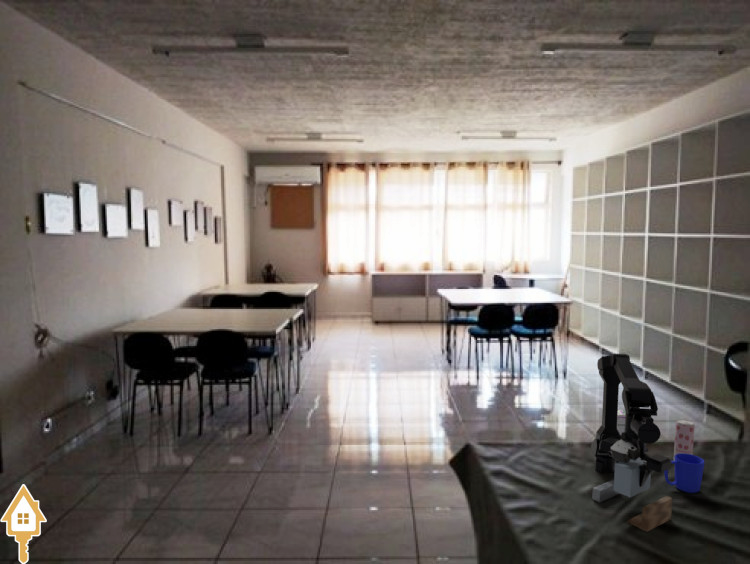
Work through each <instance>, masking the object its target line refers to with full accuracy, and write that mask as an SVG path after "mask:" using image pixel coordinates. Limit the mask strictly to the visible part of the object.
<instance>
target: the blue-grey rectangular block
mask: <svg viewBox="0 0 750 564" xmlns="http://www.w3.org/2000/svg"><path fill="white" fill-rule="evenodd" d="M642 464H643V460H640V459H636V460H635V461H634V460H632V459H631V460H630V461H629V462H628V463H623V462H622V461H620V462H618V463H617V462H615V471H614V472H613V473H614V477H613V480H614V491H616V492H618V493H620V494H621V495H623V496H626V497H628V498H629V499H630V498H632V497H634V496H636V495H639V494H642V493H644V492H645V491H648V490H650V489H651V476H652V472H651V473H650V475H649V477H648V478H647V480H646V482H645V483H644V485H643V486H642V487H640V484H639V481H640V471H641V470H640V468H639V466H640V465H642Z"/></svg>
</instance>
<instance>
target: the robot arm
mask: <svg viewBox="0 0 750 564" xmlns="http://www.w3.org/2000/svg"><path fill="white" fill-rule="evenodd" d="M596 366H597V370H598V374H599V376H600V378H601V380H602V382H603V387H602V388H603V395H602V413H601V414H602V415H601V426H600V427H599V428H598V429H597V430H596V434H595V438H594V439H593V441H592V443H591V445H590V450H591V453H592V455H593V456H594V457H595V465H594V467H595V469H594V471H595V472H598V473H600V474H606V473H607V474H612V473H615V463H618V462H620V461H622V462H623V463H628V462H629V461H630V460H631V459H632V460H634V461H635V460H636V459H640V460H643V464H642V465H640V466H639V468H640V470H641V471H640V481H639V484H640V487H642V486H643V485H644V483H645V482H646V480H647V478H648V477H649V475H650V473H651V474H652V472H653V471H654V472H656V473H663V472H664V471H666V470H670V469H672V465H673V464H672V462H671V461H672V460H671V459H670V457H667V456H664V455H662V454H659V453H656V454H653V455H650V454H647V453H648V452H649V447H647V444H648V445H649V444H650V445H651V444H654V443H656V442H658V441H659V439H661V438H660V437H661V434H662V433H661V429H660V428H659V426H658V425H657V424H656V423H655V422H654V419H653V417H654V416H655V417H657V416H658V411H659V408H658V403H657V400H656V396H655V394H654V392H653V391H652V388H650V386H649V385H648V384H647V383H645V382H644V381H642V380H640V377H639V376H638V375H637V373H636V370H635V369H634V367H633V364H632V363H631V357H630V355H629V354H626V353H615V352H614V353H612V354H610V355H602V356H601V357H600V358H598V359H597V365H596ZM620 384H621V385H622V387H623V388H622V391H621V400H622V404H623V408H624V410H625V411H626V415H625V431H624V432H622V434H621V435H620V433H619V431H618V430H617V416H618V410H619V391H620V390H619V389H620ZM652 416H653V417H652Z"/></svg>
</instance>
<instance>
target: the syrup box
mask: <svg viewBox="0 0 750 564" xmlns="http://www.w3.org/2000/svg"><path fill="white" fill-rule="evenodd" d="M625 415H626V411H625V409H618V416H617V430H618V431H619V433H620V435H621V434H622V432H624V431H625Z"/></svg>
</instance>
